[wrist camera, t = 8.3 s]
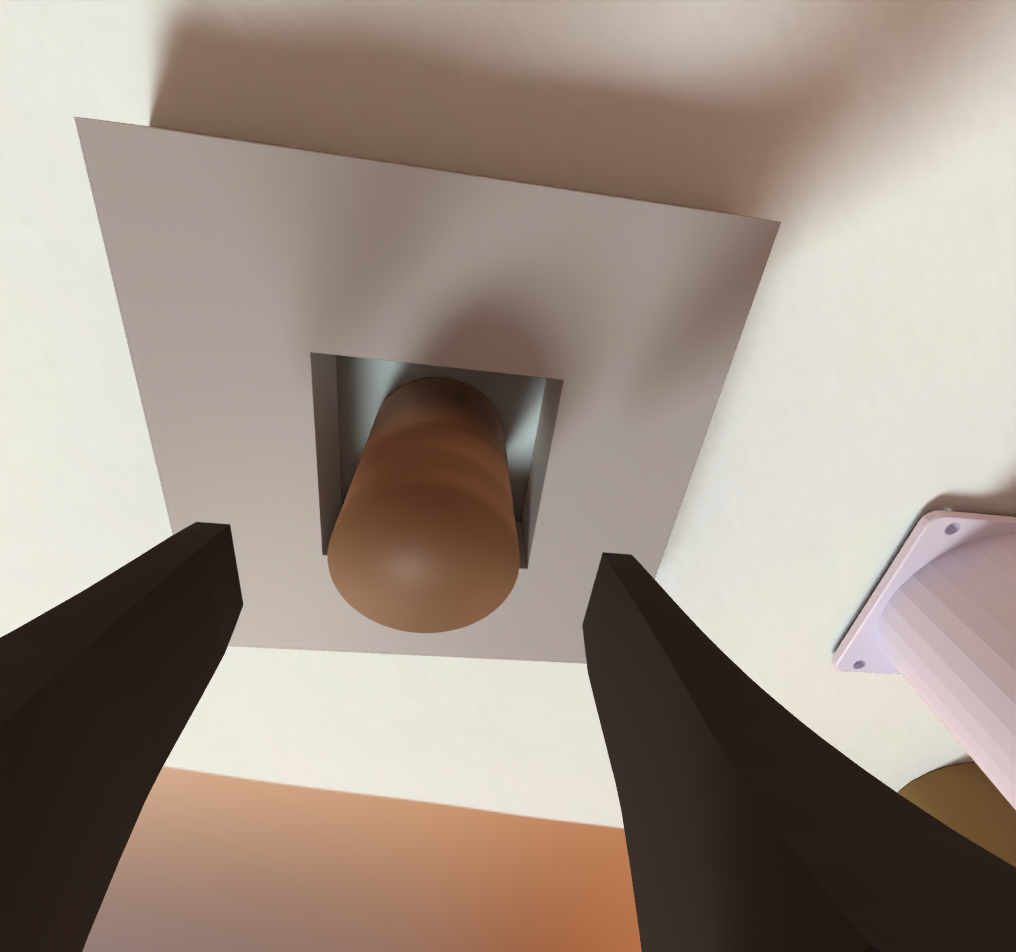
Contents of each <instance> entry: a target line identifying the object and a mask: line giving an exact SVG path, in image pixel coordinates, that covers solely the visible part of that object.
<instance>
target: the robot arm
mask: <svg viewBox="0 0 1016 952" xmlns="http://www.w3.org/2000/svg"><path fill="white" fill-rule="evenodd" d="M242 608H243V599H242V593H241V587H240V581H239V575H238V569H237V563H236V557H235V551H234V545H233V538H232V532H231V526H230V524H220V523H206V522H195V523H193V524H191V525H189V526H188V527H186V528H184V529H183V530H181V531H179V532H178V533H176V534H174V535H173V536H171V537H169V538H168V539H166V540H165V541H163V542H161V543H160V544H158V545H157V546H155V547H153V548H152V549H150V550H149V551H147V552H145V553H144V554H142V555H141V556H139V557H138V558H136V559H134V560H133V561H131V562H129V563H128V564H126V565H125V566H123V567H121V568H120V569H118V570H117V571H115V572H113V573H112V574H110V575H108V576H107V577H105V578H104V579H102V580H100V581H99V582H97V583H95V584H94V585H92V586H91V587H89V588H87V589H86V590H84V591H82V592H81V593H79V594H77V595H75V596H74V597H72V598H70V599H68V600H67V601H65V602H63V603H61V604H60V605H58V606H56V607H54V608H52V609H51V610H49V611H47V612H45V613H44V614H42V615H40V616H38V617H37V618H35V619H33V620H31V621H30V622H28V623H26V624H24V625H23V626H21V627H19V628H17V629H16V630H14V631H12V632H10V633H8V634H6V635H5V636H3V637H1V638H0V952H82V951H83V948H84V946H85V943H86V940H87V937H88V935H89V933H90V930H91V928H92V925H93V923H94V920H95V918H96V916H97V913H98V911H99V908H100V906H101V903H102V901H103V899H104V896H105V894H106V891H107V889H108V886H109V884H110V882H111V879H112V877H113V874H114V872H115V870H116V867H117V865H118V862H119V860H120V858H121V855H122V853H123V851H124V848H125V846H126V844H127V842H128V839H129V837H130V835H131V832H132V830H133V828H134V826H135V823H136V821H137V819H138V816H139V814H140V812H141V810H142V807H143V805H144V803H145V800H146V798H147V796H148V794H149V792H150V790H151V788H152V786H153V784H154V783H155V781H156V779H157V776H158V775H159V773H160V771H161V769H162V767H163V765H164V763H165V762H166V760H167V758H168V756H169V754H170V753H171V751H172V749H173V747H174V745H175V743H176V742H177V740H178V738H179V736H180V734H181V733H182V731H183V729H184V727H185V725H186V724H187V722H188V720H189V718H190V716H191V715H192V713H193V711H194V709H195V707H196V706H197V704H198V702H199V700H200V698H201V697H202V695H203V693H204V691H205V689H206V687H207V685H208V684H209V682H210V680H211V678H212V676H213V674H214V673H215V671H216V669H217V667H218V665H219V663H220V661H221V660H222V658H223V656H224V654H225V651H226V649H227V646H228V644H229V642H230V639H231V637H232V634H233V632H234V629H235V626H236V624H237V621H238V618H239V616H240V613H241V610H242ZM582 627H583V636H584V645H585V654H586V661H587V669H588V674H589V679H590V683H591V687H592V691H593V695H594V699H595V703H596V707H597V711H598V715H599V719H600V723H601V727H602V731H603V735H604V739H605V743H606V747H607V751H608V755H609V759H610V763H611V766H612V770H613V774H614V778H615V782H616V787H617V792H618V796H619V801H620V806H621V811H622V817H623V823H624V830H625V835H626V843H627V849H628V855H629V862H630V867H631V875H632V882H633V890H634V896H635V904H636V910H637V918H638V925H639V933H640V941H641V949H642V952H1016V867H1014V866H1013V865H1011V864H1009V863H1008V862H1006V861H1004V860H1003V859H1001V858H999V857H998V856H996V855H994V854H993V853H991V852H989V851H988V850H986V849H984V848H983V847H981V846H979V845H978V844H976V843H974V842H973V841H971V840H969V839H968V838H966V837H964V836H963V835H961V834H959V833H958V832H956V831H955V830H953V829H951V828H950V827H948V826H947V825H945V824H944V823H942V822H941V821H939V820H938V819H936V818H935V817H933V816H932V815H930V814H929V813H927V812H925V811H924V810H922V809H921V808H919V807H918V806H916V805H915V804H913V803H912V802H910V801H909V800H907V799H906V798H904V797H903V796H901V795H900V794H898V793H897V792H895V791H894V790H892V789H891V788H890V787H888V786H887V785H885V784H884V783H882V782H881V781H880V780H878V779H877V778H875V777H874V776H872V775H871V774H870V773H868V772H867V771H865V770H864V769H863V768H861V767H860V766H858V765H857V764H856V763H854V762H853V761H852V760H850V759H849V758H848V757H846V756H845V755H844V754H842V753H841V752H840V751H838V750H837V749H836V748H834V747H833V746H832V745H830V744H829V743H828V742H826V741H825V740H824V739H822V738H821V737H820V736H818V735H817V734H816V733H815V732H813V731H812V730H811V729H810V728H808V727H807V726H806V725H804V724H803V723H802V722H801V721H799V720H798V719H797V718H796V717H795V716H794V715H792V714H791V713H790V712H789V711H788V710H786V709H785V708H784V707H783V706H782V705H780V704H779V703H778V702H777V701H776V700H775V699H773V698H772V697H771V696H770V695H769V694H767V693H766V692H765V691H764V690H763V689H762V688H761V687H759V686H758V685H757V684H756V683H755V682H754V681H753V680H752V679H751V678H749V677H748V676H747V675H746V674H745V673H744V672H743V671H742V670H741V669H740V668H739V667H738V666H737V665H736V664H735V663H734V662H733V661H732V660H731V659H729V658H728V657H727V656H726V655H725V654H724V653H723V652H722V651H721V650H720V649H719V648H718V647H717V646H716V645H715V644H714V643H713V642H712V641H711V640H710V639H709V638H708V637H707V636H706V635H705V634H704V633H703V632H702V631H701V630H700V629H699V627H698V626H697V625H696V624H695V623H694V622H693V621H692V620H691V619H690V618H689V617H688V616H687V615H686V614H685V613H684V612H683V610H682V609H681V608H680V607H679V606H678V605H677V604H676V603H675V602H674V601H673V599H672V598H671V597H670V596H669V595H668V594H667V593H666V592H665V591H664V589H663V588H662V587H661V586H660V585H659V584H658V583H657V582H656V580H655V579H654V578H653V577H652V576H651V575H650V574H649V573H648V572H647V570H646V569H645V568H644V567H643V566H642V565H641V564H640V563H639V562H638V560H637V559H636V558H635V557H634V556H633V555H632V554H619V553H606V552H603V553H602V556H601V560H600V563H599V567H598V571H597V574H596V578H595V581H594V585H593V588H592V592H591V596H590V599H589V603H588V606H587V610H586V613H585V617H584V621H583V624H582ZM831 661H832V663H833V665H834V666H835V668H836V669H837V670H839V671H846V672H866V673H886V674H902V676H903V677H904V678H905V679H906V680H907V682H908V683H909V684H910V685H911V686H912V688H913V689H914V690H915V691H916V692H917V694H918V695H919V696H920V697H921V698H922V699H923V701H924V702H925V703H926V704H927V705H928V707H929V708H930V709H931V710H932V711H933V713H934V714H935V715H936V716H937V717H938V719H939V720H940V721H941V722H942V723H943V724H944V726H945V727H946V728H947V729H948V730H949V732H950V733H951V734H952V735H953V736H954V738H955V739H956V740H957V741H958V742H959V744H960V745H961V746H962V747H963V748H964V750H965V751H966V752H967V753H968V754H969V755H970V757H971V758H972V759H973V760H974V761H975V763H976V764H977V765H978V766H979V767H980V769H981V770H982V771H983V772H984V773H985V775H986V776H987V777H988V778H989V779H990V780H991V782H992V783H993V784H994V785H995V786H996V788H997V789H998V790H999V791H1000V792H1001V794H1002V795H1003V796H1004V797H1005V798H1006V800H1007V801H1008V802H1009V803H1010V804H1011V805H1012V807H1013V808H1014V809H1015V810H1016V517H1011V516H1000V515H988V514H977V513H965V512H954V511H943V510H937V511H932V512H929V513H927V514H926V515H924V516H923V517H922V518H921V519H920V520H919V522H918V523H917V525H916V527H915V528H914V530H913V531H912V533H911V534H910V536H909V538H908V539H907V541H906V542H905V544H904V545H903V547H902V548H901V550H900V552H899V553H898V555H897V556H896V558H895V559H894V561H893V563H892V564H891V566H890V567H889V569H888V570H887V572H886V574H885V575H884V577H883V578H882V580H881V581H880V583H879V584H878V586H877V588H876V589H875V591H874V592H873V594H872V595H871V597H870V599H869V600H868V602H867V603H866V605H865V606H864V608H863V609H862V611H861V613H860V614H859V616H858V617H857V619H856V620H855V622H854V624H853V625H852V627H851V628H850V630H849V631H848V633H847V634H846V636H845V638H844V639H843V641H842V642H841V644H840V645H839V647H838V649H837V650H836V652H835V653H834V655H833V657H832V659H831Z"/></svg>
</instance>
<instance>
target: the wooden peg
mask: <svg viewBox="0 0 1016 952" xmlns="http://www.w3.org/2000/svg"><path fill="white" fill-rule="evenodd" d="M327 559H328V568H329V573H330V576H331V578H332V581H333V583H334V585H335V587H336V589H337V590H338V592H339V593H340V594H341V596H342V597H343V598H344V600H345V601H346V602H347V603H348V604H349V605H350V606H351V607H353V608H354V609H355V610H356V611H358V612H359V613H360V614H362V615H363V616H365V617H367V618H368V619H370V620H372V621H374V622H376V623H378V624H381V625H383V626H386V627H389V628H392V629H396V630H400V631H406V632H412V633H439V632H447V631H452V630H456V629H460V628H463V627H466V626H469V625H471V624H473V623H476V622H478V621H480V620H481V619H483V618H485V617H487V616H488V615H489V614H491V613H492V612H493V611H495V610H496V609H497V608H498V607H499V606H500V605H501V604H502V603H503V602H504V601H505V600H506V598H507V597H508V596H509V594H510V593H511V591H512V589H513V587H514V585H515V583H516V580H517V577H518V573H519V565H520V557H519V548H518V540H517V533H516V525H515V517H514V509H513V501H512V493H511V486H510V478H509V470H508V462H507V454H506V446H505V439H504V431H503V425H502V422H501V419H500V416H499V414H498V412H497V410H496V409H495V407H494V405H493V404H492V403H491V402H490V400H489V399H488V398H487V397H486V396H485V395H484V394H482V393H481V392H480V391H478V390H477V389H476V388H474V387H472V386H470V385H468V384H466V383H464V382H461V381H458V380H455V379H451V378H443V377H430V378H423V379H419V380H415V381H412V382H410V383H407V384H405V385H403V386H402V387H400V388H398V389H397V390H396V391H394V392H393V393H392V394H391V395H390V396H389V397H388V398H387V399H386V400H385V402H384V403H383V404H382V406H381V408H380V410H379V411H378V414H377V416H376V419H375V422H374V424H373V427H372V430H371V432H370V435H369V438H368V440H367V443H366V445H365V448H364V451H363V453H362V456H361V459H360V461H359V464H358V467H357V469H356V472H355V475H354V477H353V480H352V483H351V485H350V488H349V490H348V493H347V496H346V498H345V501H344V504H343V506H342V509H341V512H340V514H339V517H338V520H337V522H336V525H335V528H334V530H333V533H332V536H331V539H330V542H329V546H328V552H327Z"/></svg>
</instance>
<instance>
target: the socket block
mask: <svg viewBox="0 0 1016 952" xmlns="http://www.w3.org/2000/svg"><path fill="white" fill-rule="evenodd" d="M74 118H75V122H76V126H77V131H78V135H79V139H80V143H81V148H82V152H83V156H84V160H85V164H86V169H87V173H88V177H89V181H90V186H91V190H92V194H93V198H94V203H95V207H96V211H97V215H98V219H99V224H100V228H101V232H102V236H103V241H104V245H105V249H106V253H107V258H108V262H109V266H110V270H111V274H112V279H113V283H114V287H115V291H116V296H117V300H118V304H119V308H120V313H121V317H122V321H123V325H124V329H125V334H126V338H127V342H128V346H129V351H130V355H131V359H132V363H133V368H134V372H135V376H136V380H137V384H138V389H139V393H140V397H141V401H142V406H143V410H144V414H145V418H146V423H147V427H148V431H149V435H150V439H151V444H152V448H153V452H154V456H155V461H156V465H157V469H158V473H159V478H160V482H161V486H162V490H163V494H164V499H165V503H166V507H167V511H168V516H169V520H170V524H171V528H172V533H173V535H174V534H176V533H178V532H179V531H181V530H183V529H184V528H186V527H188V526H189V525H191V524H193V523H195V522H206V523H220V524H230V526H231V532H232V538H233V545H234V551H235V557H236V563H237V569H238V575H239V581H240V587H241V593H242V599H243V608H242V610H241V613H240V616H239V618H238V621H237V624H236V626H235V629H234V632H233V634H232V637H231V639H230V642H229V644H228V646H236V647H257V648H278V649H298V650H319V651H340V652H360V653H381V654H402V655H422V656H443V657H464V658H484V659H505V660H526V661H546V662H567V663H587V661H586V654H585V645H584V636H583V627H582V624H583V621H584V617H585V613H586V610H587V606H588V603H589V599H590V596H591V592H592V588H593V585H594V581H595V578H596V574H597V571H598V567H599V563H600V560H601V556H602V553H603V552H606V553H619V554H632V555H633V556H634V557H635V558H636V559H637V560H638V562H639V563H640V564H641V565H642V566H643V567H644V568H645V569H646V570H647V572H648V573H649V574H650V575H651V576H652V577H653V578H654V579H655V576H656V573H657V570H658V568H659V565H660V562H661V559H662V556H663V554H664V551H665V548H666V545H667V542H668V539H669V537H670V534H671V531H672V528H673V525H674V522H675V520H676V517H677V514H678V511H679V508H680V506H681V503H682V500H683V497H684V494H685V491H686V489H687V486H688V483H689V480H690V477H691V474H692V472H693V469H694V466H695V463H696V460H697V458H698V455H699V452H700V449H701V446H702V443H703V441H704V438H705V435H706V432H707V429H708V426H709V424H710V421H711V418H712V415H713V412H714V410H715V407H716V404H717V401H718V398H719V395H720V393H721V390H722V387H723V384H724V381H725V378H726V376H727V373H728V370H729V367H730V364H731V362H732V359H733V356H734V353H735V350H736V347H737V345H738V342H739V339H740V336H741V333H742V330H743V328H744V325H745V322H746V319H747V316H748V314H749V311H750V308H751V305H752V302H753V299H754V297H755V294H756V291H757V288H758V285H759V282H760V280H761V277H762V274H763V271H764V268H765V265H766V263H767V260H768V257H769V254H770V251H771V249H772V246H773V243H774V240H775V237H776V234H777V232H778V229H779V226H780V223H781V222H776V221H771V220H765V219H759V218H754V217H748V216H742V215H736V214H731V213H724V212H717V211H711V210H704V209H697V208H690V207H684V206H677V205H670V204H664V203H657V202H650V201H644V200H637V199H630V198H624V197H617V196H610V195H604V194H597V193H590V192H584V191H577V190H570V189H564V188H557V187H550V186H543V185H537V184H530V183H523V182H517V181H510V180H503V179H497V178H490V177H483V176H477V175H470V174H463V173H457V172H450V171H443V170H437V169H430V168H423V167H417V166H410V165H403V164H396V163H390V162H383V161H376V160H370V159H363V158H356V157H350V156H343V155H336V154H330V153H323V152H316V151H310V150H303V149H296V148H290V147H283V146H276V145H270V144H263V143H256V142H249V141H243V140H236V139H229V138H223V137H216V136H209V135H203V134H196V133H189V132H183V131H176V130H169V129H163V128H156V127H149V126H142V125H134V124H126V123H119V122H111V121H103V120H96V119H88V118H80V117H74ZM337 355H341V356H350V357H359V358H369V359H378V360H387V361H396V362H405V363H415V364H424V365H433V366H442V367H451V368H461V369H470V370H479V371H488V372H497V373H506V374H516V375H525V376H534V377H543V378H546V383H545V389H544V394H543V400H542V406H541V412H540V417H539V423H538V429H537V434H536V440H535V446H534V452H533V457H532V463H531V469H530V475H529V480H528V486H527V492H526V497H525V503H524V509H523V515H522V520H521V521H517V520H515V525H516V533H517V540H518V548H519V557H520V565H519V573H518V577H517V580H516V583H515V585H514V587H513V589H512V591H511V593H510V594H509V596H508V597H507V598H506V600H505V601H504V602H503V603H502V604H501V605H500V606H499V607H498V608H497V609H496V610H495V611H493V612H492V613H491V614H489V615H488V616H487V617H485V618H483V619H481V620H480V621H478V622H476V623H473V624H471V625H469V626H466V627H463V628H460V629H456V630H452V631H447V632H439V633H412V632H406V631H400V630H396V629H392V628H389V627H386V626H383V625H381V624H378V623H376V622H374V621H372V620H370V619H368V618H367V617H365V616H363V615H362V614H360V613H359V612H358V611H356V610H355V609H354V608H353V607H351V606H350V605H349V604H348V603H347V602H346V601H345V600H344V598H343V597H342V596H341V594H340V593H339V592H338V590H337V589H336V587H335V585H334V583H333V581H332V578H331V576H330V573H329V568H328V559H327V552H328V546H329V542H330V539H331V536H332V533H333V530H334V528H335V525H336V522H337V520H338V517H339V514H340V512H341V509H342V499H341V470H340V442H339V413H338V384H337Z"/></svg>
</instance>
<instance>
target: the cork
mask: <svg viewBox="0 0 1016 952" xmlns="http://www.w3.org/2000/svg"><path fill="white" fill-rule="evenodd" d="M898 794H900V795H901V796H903V797H904V798H906V799H907V800H909V801H910V802H912V803H913V804H915V805H916V806H918V807H919V808H921V809H922V810H924V811H925V812H927V813H929V814H930V815H932V816H933V817H935V818H936V819H938V820H939V821H941V822H942V823H944V824H945V825H947V826H948V827H950V828H951V829H953V830H955V831H956V832H958V833H959V834H961V835H963V836H964V837H966V838H968V839H969V840H971V841H973V842H974V843H976V844H978V845H979V846H981V847H983V848H984V849H986V850H988V851H989V852H991V853H993V854H994V855H996V856H998V857H999V858H1001V859H1003V860H1004V861H1006V862H1008V863H1009V864H1011V865H1013V866H1014V867H1016V810H1015V809H1014V808H1013V807H1012V805H1011V804H1010V803H1009V802H1008V801H1007V800H1006V798H1005V797H1004V796H1003V795H1002V794H1001V792H1000V791H999V790H998V789H997V788H996V786H995V785H994V784H993V783H992V782H991V780H990V779H989V778H988V777H987V776H986V775H985V773H984V772H983V771H982V770H981V769H980V767H979V766H978V765H977V764H976V763H962V764H957V765H953V766H948V767H944V768H941V769H938V770H936V771H933V772H930V773H927V774H925V775H923V776H921V777H920V778H918V779H916V780H914V781H912V782H910V783H909V784H908V785H907V786H905V787H904V788H903V789H902V790H900V791H899V792H898Z"/></svg>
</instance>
